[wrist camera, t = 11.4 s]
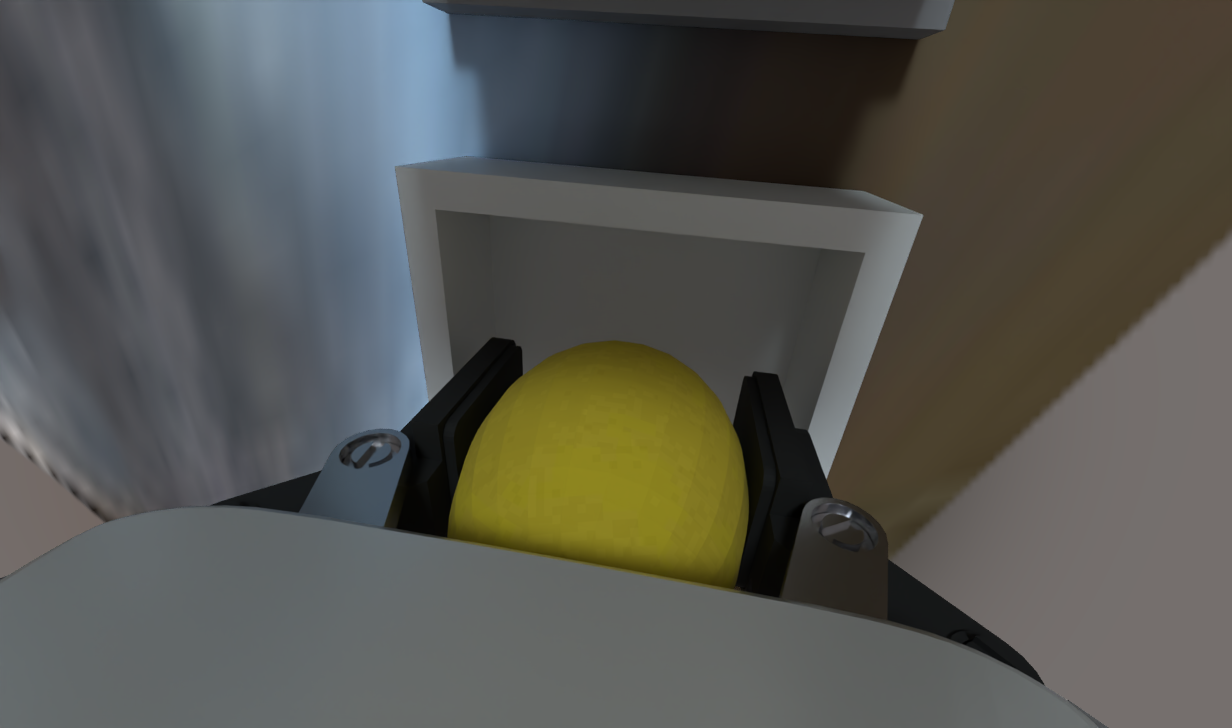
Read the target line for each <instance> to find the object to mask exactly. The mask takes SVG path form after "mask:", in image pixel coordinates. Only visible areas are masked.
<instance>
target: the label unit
mask: <svg viewBox="0 0 1232 728" xmlns="http://www.w3.org/2000/svg"><path fill="white" fill-rule="evenodd" d="M422 1H423V3H426V4H428V5H430V6H432V7H435V8H437V9H439V10H441V11H444V12H446V13H451V14H469V15H487V16H505V17H523V18H541V19H559V20H577V21H595V22H613V23H631V24H649V25H667V26H685V27H703V28H721V29H739V30H757V31H775V32H793V33H811V34H829V35H847V36H866V37H884V38H902V39H922V38H925V37H927V36H930V35H933V34H935V33H938V32H941V31H943V30H945V28H946V25H947V22H948V19H949V16H950V13H951V10H952V7H953V4H954V1H955V0H422Z"/></svg>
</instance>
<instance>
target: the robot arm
mask: <svg viewBox="0 0 1232 728" xmlns="http://www.w3.org/2000/svg"><path fill="white" fill-rule="evenodd" d="M521 376H523V358H522V348H521V346H516V343H515V341H514V340H511V339H503V338H496V337H492V338H490V339H489V340H488V342H487V343H486V344H485V345H484V346H483V347H482V348H481V349H480V350H479V351H478V352H477V353H476V354H475V355H474V356H473V357H472V358H471V359H470V360H469V361H468V362H467V363H466V364H465V365H464V366H463V367H462V368H461V369H460V370H459V371H458V373H457V374H456V375H455V376H454V377H453V378H452V379H451V380H450V381H449V382H448V383H447V384H446V385H445V386H444V387H443V388H442V389H441V390H440V391H439V392H438V393H437V394H436V395H435V396H434V397H433V398H432V399H431V400H430V401H429V402H428V403H427V404H426V405H425V406H424V407H423V408H422V409H421V410H420V412H419V413H418V414H417V415H416V416H415V417H414V418H413V419H412V420H411V421H410V422H409V423H408V424H407V425H406V426H405V427H404V428H403V429H402V430H401V431H396V430H392V429H375V430H368V431H364V432H361V433H358V434H355V435H353V436H351V437H349V438H347V439H345V440H344V441H342V442H341V443H340V444H338V445H337V446H336V447H335V449H334V450H333V451H332V452H331V454H330V456H329V458H328V460H327V462H326V463H325V465H324V467H323V469H322V471H319V472H315V473H312V474H309V475H306V476H302V477H299V478H296V479H293V480H289V481H286V482H283V483H279V484H276V485H273V486H270V487H266V488H263V489H260V490H257V491H253V492H250V493H247V494H244V495H240V496H237V497H234V498H231V499H227V500H224V501H221V502H218V503H216V504H213V505H210V506H189V507H180V508H172V509H164V510H156V511H150V512H145V513H140V514H135V515H131V516H127V517H123V518H119V519H115V520H112V521H109V522H106V523H103V524H101V525H98V526H96V527H94V528H92V529H90V530H87V531H85V532H83V533H81V534H79V535H77V536H75V537H73V538H71V539H70V540H68V541H66V542H64V543H63V544H61V545H59V546H57V547H55V548H54V549H52V550H50V551H48V552H47V553H45V554H43V555H41V556H39V557H38V558H36V559H34V560H33V561H31V562H29V563H28V564H26V565H24V566H23V567H21V568H20V569H18V570H16V571H15V572H13V573H11V574H10V575H8V576H5V577H3V578H0V728H1108V727H1107V726H1105V725H1104V724H1102V723H1101V722H1099V721H1098V720H1096V719H1095V718H1093V717H1092V716H1090V715H1089V714H1087V713H1086V712H1085V711H1083V710H1082V709H1080V708H1079V707H1078V706H1076V705H1075V704H1073V703H1072V702H1070V701H1069V700H1066V699H1065V698H1063V697H1061V696H1060V695H1058V694H1057V693H1055V692H1054V691H1052V690H1050V689H1049V688H1047V687H1046V686H1045V685H1044V683H1043V681H1042V680H1041V678H1040V677H1039V675H1038V673H1037V672H1036V671H1035V670H1034V668H1033V667H1032V666H1031V665H1030V664H1029V663H1028V662H1027V661H1026V660H1025V658H1024V657H1023V656H1022V655H1020V654H1019V653H1018V652H1017V651H1015V650H1014V649H1013V648H1012V647H1011V646H1009V645H1008V644H1007V643H1006V642H1004V641H1003V640H1001V639H1000V638H999V637H997V636H996V635H994V634H993V633H991V632H990V631H989V630H987V629H986V628H984V627H983V626H982V625H980V624H979V623H977V622H976V621H975V620H973V619H972V618H970V617H969V616H967V615H966V614H965V613H963V612H962V611H960V610H959V609H958V608H956V607H955V606H953V605H952V604H950V603H949V602H948V601H946V600H945V599H944V598H942V597H941V596H939V595H938V594H936V593H935V592H934V591H932V590H931V589H929V588H928V587H927V586H925V585H924V584H922V583H921V582H920V581H918V580H917V579H915V578H914V577H912V576H911V575H910V574H908V573H907V572H905V571H904V570H903V569H901V568H900V567H898V566H897V565H895V564H894V563H893V562H891V561H890V560H888V541H887V536H886V533H885V531H884V530H883V528H882V527H881V525H880V524H879V523H878V522H877V521H876V520H875V519H874V518H873V517H872V516H871V515H870V514H869V513H867V512H866V511H864V510H863V509H861V508H860V507H858V506H855V505H853V504H851V503H849V502H847V501H843V500H839V499H835V498H833V497H832V494H831V491H830V488H829V486H828V483H827V480H826V477H825V475H824V472H823V469H822V466H821V464H820V461H819V458H818V455H817V453H816V450H815V447H814V444H813V442H812V439H811V436H810V434H809V432H808V430H805V429H799V428H795V426H794V423H793V420H792V417H791V414H790V411H789V408H788V405H787V402H786V399H785V395H784V392H783V389H782V386H781V383H780V380H779V377H778V375H777V374H772V373H764V372H757V371H754V372H753V374H752V377H751V376H744V379H743V382H742V387H741V391H740V395H739V400H738V404H737V409H736V413H735V418H734V422H733V427H734V429H735V432H736V434H737V436H738V438H739V442H740V445H741V448H742V453H743V459H744V465H745V472H746V479H747V485H748V496H749V515H748V525H747V533H746V539H745V543H744V548H743V553H742V558H741V563H740V568H739V573H738V577H737V581H736V584H735V586H738V587H741V591H739V590H734V589H729V588H723V587H718V586H712V585H707V584H702V583H696V582H691V581H685V580H680V579H675V578H669V577H664V576H658V575H653V574H648V573H642V572H637V571H631V570H626V569H620V568H615V567H609V566H604V565H598V564H593V563H587V562H582V561H576V560H570V559H565V558H559V557H554V556H548V555H543V554H537V553H531V552H526V551H520V550H514V549H509V548H503V547H498V546H492V545H486V544H481V543H475V542H469V541H463V540H458V539H452V538H448V537H447V535H448V523H449V515H450V510H451V505H452V501H453V497H454V494H455V490H456V487H457V484H458V481H459V477H460V474H461V471H462V468H463V465H464V461H465V458H466V456H467V453H468V450H469V448H470V445H471V443H472V441H473V439H474V437H475V435H476V433H477V431H478V429H479V428H480V426H481V424H482V423H483V421H484V419H485V418H486V417H487V416H488V414H489V413H490V412H491V410H492V409H493V408H494V406H495V405H496V404H497V402H498V401H499V400H500V398H501V397H502V396H503V395H504V393H505V392H506V391H507V389H508V388H509V387H510V386H511V385H512V384H513V383H514V382H515V381H516V380H517V379H519V378H520V377H521Z"/></svg>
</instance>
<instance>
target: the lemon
mask: <svg viewBox="0 0 1232 728" xmlns="http://www.w3.org/2000/svg"><path fill="white" fill-rule="evenodd" d="M748 515H749V496H748V485H747V479H746V472H745V465H744V459H743V453H742V448H741V445H740V442H739V438H738V436H737V434H736V432H735V429H734V427H733V425H732V423H731V421H730V419H729V417H728V415H727V413H726V411H725V409H724V407H723V405H722V403H721V401H720V400H719V398H718V397H717V395H716V394H715V393H714V392H713V391H712V390H711V389H710V387H709V386H708V385H707V384H706V383H705V382H704V381H703V380H702V378H701V377H700V376H699V375H698V374H697V373H696V372H695V371H693V370H692V369H691V368H689V367H688V366H686V365H685V364H683V363H682V362H680V361H679V360H677V359H676V358H674V357H673V356H672V355H670V354H668V353H665V352H662V351H660V350H657V349H654V348H652V347H649V346H647V345H644V344H638V343H631V342H624V341H617V340H612V341H601V342H591V343H584V344H580V345H577V346H575V347H572V348H569V349H566V350H564V351H561V352H558V353H555V354H553V355H552V356H550V357H548V358H546V359H545V360H543V361H542V362H541V363H539V364H538V365H536V366H535V367H534V368H532V369H531V370H529V371H528V372H527V373H525V374H524V375H523V376H521V377H520V378H519V379H517V380H516V381H515V382H514V383H513V384H512V385H511V386H510V387H509V388H508V389H507V391H506V392H505V393H504V395H503V396H502V397H501V398H500V400H499V401H498V402H497V404H496V405H495V406H494V408H493V409H492V410H491V412H490V413H489V414H488V416H487V417H486V418H485V419H484V421H483V423H482V424H481V426H480V428H479V429H478V431H477V433H476V435H475V437H474V439H473V441H472V443H471V445H470V448H469V450H468V453H467V456H466V458H465V461H464V465H463V468H462V471H461V474H460V477H459V481H458V484H457V487H456V490H455V494H454V497H453V501H452V505H451V510H450V515H449V523H448V535H447V537H448V538H452V539H458V540H463V541H469V542H475V543H481V544H486V545H492V546H498V547H503V548H509V549H514V550H520V551H526V552H531V553H537V554H543V555H548V556H554V557H559V558H565V559H570V560H576V561H582V562H587V563H593V564H598V565H604V566H609V567H615V568H620V569H626V570H631V571H637V572H642V573H648V574H653V575H658V576H664V577H669V578H675V579H680V580H685V581H691V582H696V583H702V584H707V585H712V586H718V587H723V588H729V589H734V588H735V584H736V581H737V577H738V573H739V568H740V563H741V558H742V553H743V548H744V543H745V539H746V533H747V525H748Z"/></svg>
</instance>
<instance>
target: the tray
mask: <svg viewBox="0 0 1232 728" xmlns="http://www.w3.org/2000/svg"><path fill="white" fill-rule="evenodd" d="M395 171H396V178H397V185H398V192H399V199H400V206H401V212H402V219H403V226H404V233H405V240H406V247H407V254H408V261H409V268H410V275H411V281H412V288H413V295H414V302H415V309H416V316H417V323H418V330H419V337H420V344H421V350H422V357H423V364H424V371H425V378H426V385H427V392H428V399H429V401H430V400H431V399H432V398H433V397H434V396H435V395H436V394H437V393H438V392H439V391H440V390H441V389H442V388H443V387H444V386H445V385H446V384H447V383H448V382H449V381H450V380H451V379H452V378H453V377H454V376H455V375H456V374H457V373H458V371H459V370H460V369H461V368H462V367H463V366H464V365H465V364H466V363H467V362H468V361H469V360H470V359H471V358H472V357H473V356H474V355H475V354H476V353H477V352H478V351H479V350H480V349H481V348H482V347H483V346H484V345H485V344H486V343H487V342H488V340H489V339H490V338H492V337H496V338H503V339H511V340H514V341H515V343H516V346H521V348H522V358H523V375H524V374H525V373H527V372H528V371H529V370H531V369H532V368H534V367H535V366H536V365H538V364H539V363H541V362H542V361H543V360H545V359H546V358H548V357H550V356H552V355H553V354H555V353H558V352H561V351H564V350H566V349H569V348H572V347H575V346H577V345H580V344H584V343H591V342H601V341H612V340H617V341H624V342H631V343H638V344H644V345H647V346H649V347H652V348H654V349H657V350H660V351H662V352H665V353H668V354H670V355H672V356H673V357H674V358H676V359H677V360H679V361H680V362H682V363H683V364H685V365H686V366H688V367H689V368H691V369H692V370H693V371H695V372H696V373H697V374H698V375H699V376H700V377H701V378H702V380H703V381H704V382H705V383H706V384H707V385H708V386H709V387H710V389H711V390H712V391H713V392H714V393H715V394H716V395H717V397H718V398H719V400H720V401H721V403H722V405H723V407H724V409H725V411H726V413H727V415H728V417H729V419H730V421H731V423H732V425H733V422H734V418H735V413H736V409H737V404H738V400H739V395H740V391H741V387H742V382H743V379H744V376H751V377H752V374H753V372H754V371H757V372H764V373H772V374H777V375H778V377H779V380H780V383H781V386H782V389H783V392H784V395H785V399H786V402H787V405H788V408H789V411H790V414H791V417H792V420H793V423H794V426H795V428H799V429H805V430H808V432H809V434H810V436H811V439H812V442H813V444H814V447H815V450H816V453H817V455H818V458H819V461H820V464H821V466H822V469H823V472H824V475H825V477H826V479H827V476H828V473H829V471H830V468H831V465H832V462H833V460H834V457H835V454H836V452H837V449H838V446H839V443H840V441H841V438H842V435H843V432H844V430H845V427H846V424H847V422H848V419H849V416H850V413H851V411H852V408H853V405H854V402H855V400H856V397H857V394H858V392H859V389H860V386H861V383H862V381H863V378H864V375H865V373H866V370H867V367H868V364H869V362H870V359H871V356H872V353H873V351H874V348H875V345H876V343H877V340H878V337H879V334H880V332H881V329H882V326H883V323H884V321H885V318H886V315H887V313H888V310H889V307H890V304H891V302H892V299H893V296H894V294H895V291H896V288H897V285H898V283H899V280H900V277H901V274H902V272H903V269H904V266H905V264H906V261H907V258H908V255H909V253H910V250H911V247H912V244H913V242H914V239H915V236H916V234H917V231H918V228H919V225H920V223H921V220H922V217H923V215H922V214H919V213H917V212H914V211H912V210H910V209H907V208H905V207H902V206H900V205H897V204H895V203H892V202H890V201H887V200H885V199H882V198H880V197H877V196H875V195H872V194H870V193H867V192H865V191H857V190H845V189H834V188H823V187H811V186H800V185H789V184H777V183H766V182H755V181H743V180H732V179H720V178H709V177H698V176H686V175H675V174H664V173H652V172H641V171H630V170H618V169H607V168H596V167H584V166H573V165H562V164H550V163H539V162H527V161H516V160H505V159H493V158H482V157H471V156H464V157H457V158H450V159H443V160H436V161H429V162H422V163H415V164H408V165H401V166H395Z"/></svg>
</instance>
